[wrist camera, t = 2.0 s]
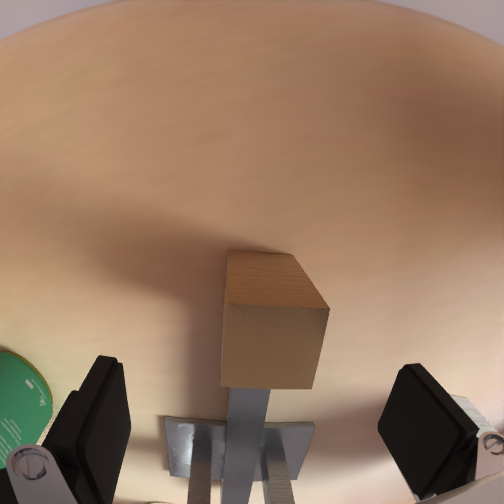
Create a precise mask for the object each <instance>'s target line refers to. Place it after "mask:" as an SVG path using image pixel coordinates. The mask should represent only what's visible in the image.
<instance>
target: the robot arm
mask: <svg viewBox="0 0 504 504" xmlns="http://www.w3.org/2000/svg"><path fill="white" fill-rule="evenodd" d="M479 430H480V428H479V427H478V426H477V425H476V424H475V423H474V422H473V420H472V419H471V418H470V417H469V416H468V415H467V414H466V413H465V411H464V410H463V409H462V408H461V407H460V406H459V405H458V404H457V403H456V401H455V400H454V399H453V398H452V397H451V396H450V395H449V394H448V393H447V392H446V391H445V389H444V388H443V387H442V386H441V385H440V384H439V383H438V382H437V381H436V380H435V379H434V378H433V376H432V375H431V374H430V373H429V372H428V371H427V370H426V369H425V368H424V367H423V366H422V365H421V364H420V363H415V364H406V365H404V366H403V368H402V369H400V370H399V372H398V375H397V377H396V380H395V383H394V385H393V388H392V390H391V393H390V396H389V398H388V401H387V403H386V405H385V408H384V410H383V413H382V415H381V417H380V420H379V422H378V432H379V434H380V435H381V437H382V439H383V441H384V442H385V444H386V446H387V448H388V450H389V451H390V453H391V455H392V457H393V458H394V460H395V462H396V464H397V465H398V467H399V469H400V471H401V473H402V474H403V476H404V478H405V480H406V482H407V483H408V485H409V487H410V489H411V491H412V492H413V494H415V495H417V496H418V498H419V499H420V501H421V502H418V503H415V504H504V435H502V434H501V433H498V432H494V431H488V432H484V433H482V434H481V436H480V437H479V438H478V437H477V436H476V435H477V433H478V431H479ZM130 432H131V420H130V414H129V408H128V401H127V394H126V387H125V379H124V370H123V364H122V363H119V362H118V361H117V358H115V357H108V356H102V355H99V356H98V357H97V359H96V360H95V362H94V364H93V366H92V367H91V369H90V371H89V373H88V374H87V376H86V378H85V380H84V382H83V383H82V385H81V387H80V389H79V391H76V390H73V391H71V393H70V394H69V396H68V397H67V399H66V401H65V403H64V404H63V406H62V408H61V410H60V412H59V413H58V415H57V417H56V419H55V421H54V423H53V424H52V426H51V428H50V430H49V432H48V434H47V436H46V438H45V440H44V441H43V443H42V445H41V446H39V445H34V444H25V445H21V446H18V447H16V448H15V449H13V450H12V451H11V452H10V453H9V455H8V456H7V460H6V467H5V468H2V469H0V504H112V502H113V498H114V494H115V489H116V485H117V481H118V477H119V473H120V469H121V465H122V462H123V458H124V454H125V450H126V447H127V443H128V439H129V436H130ZM434 494H436V496H435V497H433V496H434ZM431 497H433V498H431ZM428 498H430V499H428ZM425 499H427V500H425ZM422 500H424V501H422Z"/></svg>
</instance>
